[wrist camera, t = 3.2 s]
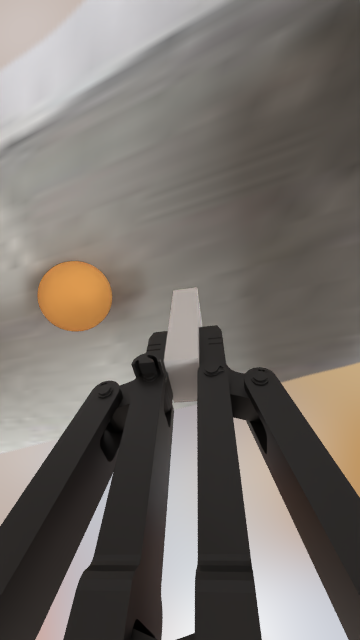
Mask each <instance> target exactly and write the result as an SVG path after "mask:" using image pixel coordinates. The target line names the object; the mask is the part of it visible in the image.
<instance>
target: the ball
mask: <svg viewBox="0 0 360 640" xmlns="http://www.w3.org/2000/svg"><path fill="white" fill-rule="evenodd" d="M38 303H39V307H40V309H41V311H42V313H43V314H44V316H45V317H46V318H47V319H48V320H49V321H50V322H51V323H52V324H53V325H55V326H57V327H59V328H61V329H64V330H68V331H84V330H88V329H91V328H93V327H95V326H96V325H98V324H99V323H100V322H102V321H103V320H104V318H105V317H106V316H107V314H108V312H109V310H110V307H111V304H112V291H111V287H110V284H109V282H108V280H107V278H106V277H105V276H104V275H103V273H102V272H101V271H99V270H98V269H97V268H95V267H94V266H92V265H90V264H88V263H84V262H79V261H68V262H63V263H60V264H58V265H56V266H54V267H53V268H51V269H50V270H49V271H48V272H47V273H46V274H45V275H44V276H43V278H42V280H41V282H40V284H39V287H38Z"/></svg>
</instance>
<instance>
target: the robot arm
mask: <svg viewBox="0 0 360 640" xmlns="http://www.w3.org/2000/svg"><path fill="white" fill-rule="evenodd" d="M132 367H133V370H134V373H135V376H136V379H135V380H133V381H131V382H129V383H126V384H123V385H120V386H119V384H118V383H117V382H114V381H105V382H102V383H100V384H99V385H97V386H96V387H95V388H94V389H93V390H92V392H91V393H90V394H89V396H88V397H87V399H86V400H85V402H84V403H83V405H82V406H81V408H80V409H79V411H78V412H77V414H76V415H75V417H74V418H73V420H72V421H71V423H70V424H69V425H68V427H67V428H66V430H65V431H64V433H63V434H62V436H61V437H60V439H59V440H58V442H57V443H56V445H55V446H54V448H53V449H52V451H51V452H50V454H49V455H48V457H47V458H46V460H45V461H44V462H43V464H42V465H41V467H40V468H39V470H38V471H37V473H36V474H35V476H34V477H33V479H32V480H31V482H30V483H29V485H28V486H27V488H26V489H25V490H24V492H23V493H22V495H21V496H20V498H19V499H18V501H17V502H16V504H15V505H14V507H13V508H12V510H11V511H10V513H9V514H8V516H7V517H6V519H5V520H4V522H3V523H2V524H1V526H0V640H35V639H36V637H37V635H38V633H39V631H40V629H41V626H42V624H43V622H44V620H45V618H46V615H47V614H48V611H49V609H50V607H51V605H52V603H53V601H54V599H55V596H56V594H57V592H58V590H59V588H60V586H61V583H62V581H63V579H64V577H65V575H66V573H67V571H68V568H69V566H70V564H71V562H72V560H73V558H74V556H75V553H76V551H77V549H78V547H79V545H80V542H81V540H82V538H83V536H84V534H85V532H86V530H87V528H88V525H89V523H90V521H91V519H92V517H93V515H94V512H95V510H96V508H97V506H98V504H99V502H100V500H101V497H102V495H103V493H104V491H105V489H106V487H107V484H108V482H109V480H110V478H111V476H112V474H113V477H112V481H111V486H110V490H109V494H108V498H107V502H106V507H105V511H104V515H103V519H102V524H101V528H100V532H99V536H98V541H97V545H96V549H95V553H94V557H93V560H92V562H91V564H90V566H89V567H88V568H87V569H86V570H85V571H84V572H83V574H82V576H81V578H80V580H79V583H78V586H77V589H76V593H75V597H74V601H73V604H72V609H71V612H70V616H69V620H68V624H67V628H66V632H65V635H64V639H63V640H161V636H162V601H161V581H162V567H163V553H164V539H165V526H166V511H167V499H168V485H169V471H170V457H171V444H172V430H173V416H174V410H173V405H172V399H174V402H188V401H197V406H198V407H197V415H198V416H197V418H198V421H197V423H198V424H197V425H198V427H197V429H198V565H197V569H196V577H195V633H194V634H191V635H189V636H186V637H183V638H180V639H177V640H262V639H261V631H260V623H259V616H258V607H257V600H256V592H255V584H254V577H253V570H252V564H251V558H250V549H249V541H248V533H247V525H246V518H245V509H244V501H243V494H242V485H241V477H240V469H239V462H238V454H237V446H236V438H235V430H234V423H233V417H234V418H239V419H243V420H246V421H247V424H248V426H249V428H250V430H251V432H252V434H253V436H254V438H255V441H256V443H257V445H258V447H259V449H260V451H261V453H262V456H263V458H264V460H265V462H266V464H267V466H268V468H269V470H270V473H271V475H272V477H273V479H274V481H275V483H276V485H277V487H278V490H279V492H280V494H281V496H282V498H283V500H284V502H285V505H286V507H287V509H288V511H289V513H290V515H291V517H292V519H293V522H294V524H295V526H296V528H297V530H298V532H299V534H300V536H301V539H302V541H303V543H304V545H305V547H306V549H307V551H308V554H309V556H310V558H311V560H312V562H313V564H314V566H315V569H316V571H317V573H318V575H319V577H320V579H321V581H322V584H323V586H324V588H325V590H326V592H327V594H328V596H329V598H330V600H331V603H332V604H333V607H334V609H335V611H336V613H337V616H338V617H339V620H340V622H341V624H342V626H343V628H344V630H345V633H346V635H347V637H348V639H349V640H360V497H359V496H358V495H357V493H356V492H355V490H354V489H353V487H352V486H351V484H350V483H349V481H348V480H347V479H346V477H345V476H344V474H343V473H342V471H341V470H340V468H339V467H338V465H337V464H336V463H335V461H334V460H333V458H332V457H331V455H330V454H329V452H328V451H327V449H326V448H325V447H324V445H323V444H322V442H321V441H320V439H319V438H318V436H317V435H316V434H315V432H314V431H313V429H312V428H311V426H310V425H309V423H308V422H307V420H306V419H305V417H304V416H303V415H302V413H301V412H300V410H299V409H298V407H297V406H296V404H295V403H294V402H293V400H292V399H291V397H290V396H289V394H288V393H287V391H286V390H285V389H284V387H283V386H282V384H281V383H280V381H279V380H278V378H277V377H276V375H275V374H274V373H273V372H272V371H270V370H268V369H266V368H260V367H259V368H253V369H250V370H248V371H247V372H246V373H245V374H243V373H238V372H235V371H233V370H231V369H230V368H229V367H228V366H227V365H226V361H225V353H224V346H223V338H222V331H221V329H220V328H219V327H218V326H217V325H216V326H207V327H202V318H201V311H200V304H199V297H198V290H197V287H194V288H186V289H178V290H173V297H172V304H171V311H170V319H169V326H168V331H164V332H155V333H153V335H152V336H151V337H150V338H149V342H148V347H147V351H146V354H142V355H140V356H138V357H137V358H135V359H134V360H133V362H132ZM113 472H114V473H113Z"/></svg>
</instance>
